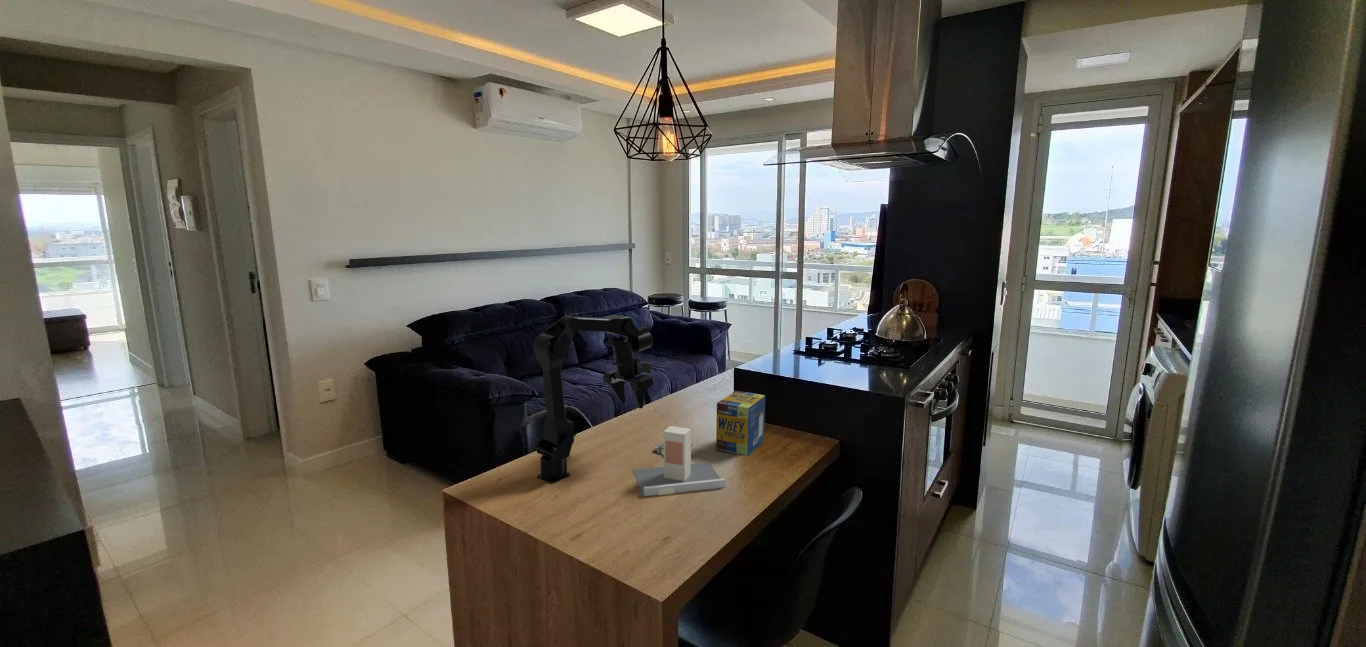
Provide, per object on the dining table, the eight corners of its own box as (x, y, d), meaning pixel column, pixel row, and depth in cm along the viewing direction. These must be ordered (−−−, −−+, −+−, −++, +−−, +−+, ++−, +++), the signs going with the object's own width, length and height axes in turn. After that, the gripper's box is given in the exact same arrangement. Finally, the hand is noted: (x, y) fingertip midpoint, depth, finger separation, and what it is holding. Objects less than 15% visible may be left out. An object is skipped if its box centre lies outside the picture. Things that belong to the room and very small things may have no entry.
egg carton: (670, 464, 165) (669, 450, 164) (652, 456, 170) (651, 443, 169) (694, 453, 173) (694, 440, 172) (676, 446, 178) (676, 434, 177)
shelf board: (642, 502, 141) (642, 489, 141) (632, 474, 157) (632, 463, 156) (726, 493, 147) (726, 480, 146) (708, 467, 162) (709, 455, 162)
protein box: (715, 451, 174) (716, 402, 171) (734, 435, 187) (735, 389, 185) (747, 457, 169) (748, 408, 166) (764, 440, 182) (766, 394, 180)
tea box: (663, 477, 152) (663, 431, 150) (670, 470, 156) (670, 425, 154) (684, 481, 150) (684, 434, 147) (690, 474, 154) (690, 428, 152)
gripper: (664, 352, 168) (671, 402, 171) (627, 347, 182) (634, 393, 185) (634, 362, 161) (642, 414, 164) (598, 356, 175) (606, 404, 178)
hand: (632, 405), depth 173 cm, fingers open, 9 cm apart
